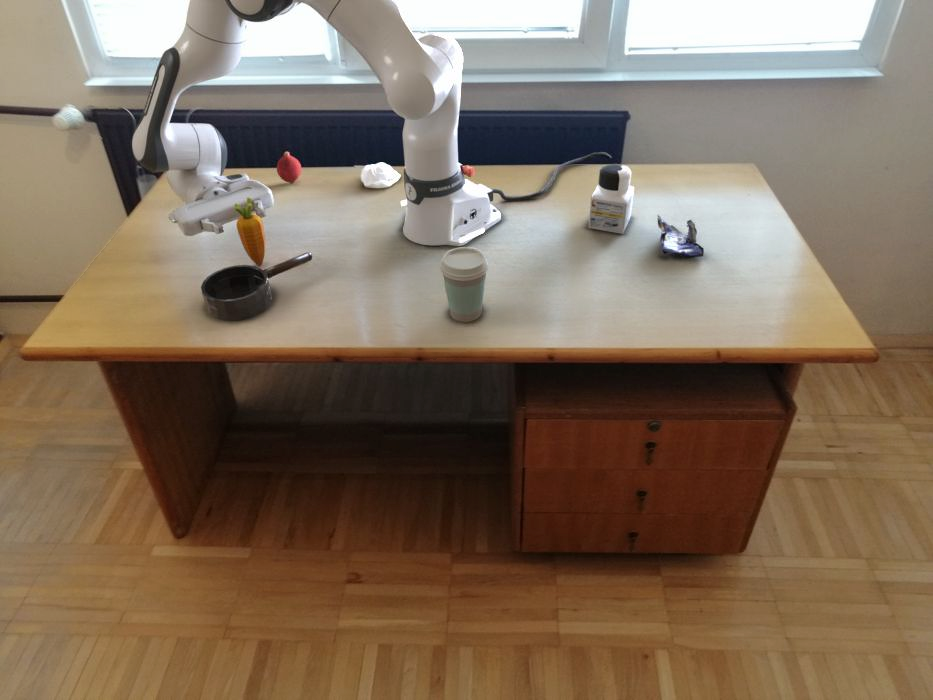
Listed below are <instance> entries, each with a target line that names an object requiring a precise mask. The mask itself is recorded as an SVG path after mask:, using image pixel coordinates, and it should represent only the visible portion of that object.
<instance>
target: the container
mask: <svg viewBox="0 0 933 700" xmlns="http://www.w3.org/2000/svg"><path fill="white" fill-rule="evenodd" d="M631 178H632V171H631V169H630V168H629V167H628V166H626V165H624V164H620V163H610V164H606V165H603V166H601V168H600V169H599V174H598V184H597V186H596V188H595V189H594V191H593V193H592V195H591V196H590V207H589V217H588V228H589V229H592V230H599V231H603V232H609V233H615V234H620V235H621V234H624V232H625V230H626V228H627V226H628V224H629V222H630V219H631V217H632V210H633V202H634V195H635V186H633V185H631V180H632V179H631Z"/></svg>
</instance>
